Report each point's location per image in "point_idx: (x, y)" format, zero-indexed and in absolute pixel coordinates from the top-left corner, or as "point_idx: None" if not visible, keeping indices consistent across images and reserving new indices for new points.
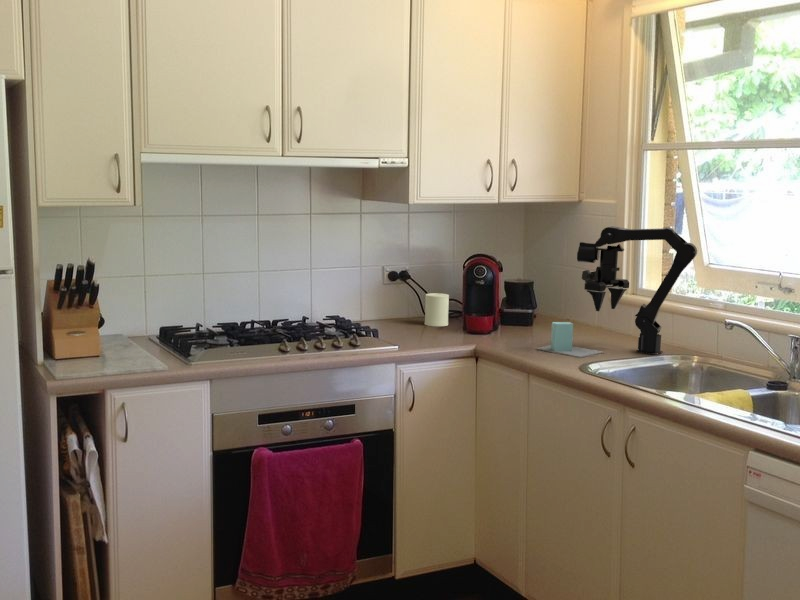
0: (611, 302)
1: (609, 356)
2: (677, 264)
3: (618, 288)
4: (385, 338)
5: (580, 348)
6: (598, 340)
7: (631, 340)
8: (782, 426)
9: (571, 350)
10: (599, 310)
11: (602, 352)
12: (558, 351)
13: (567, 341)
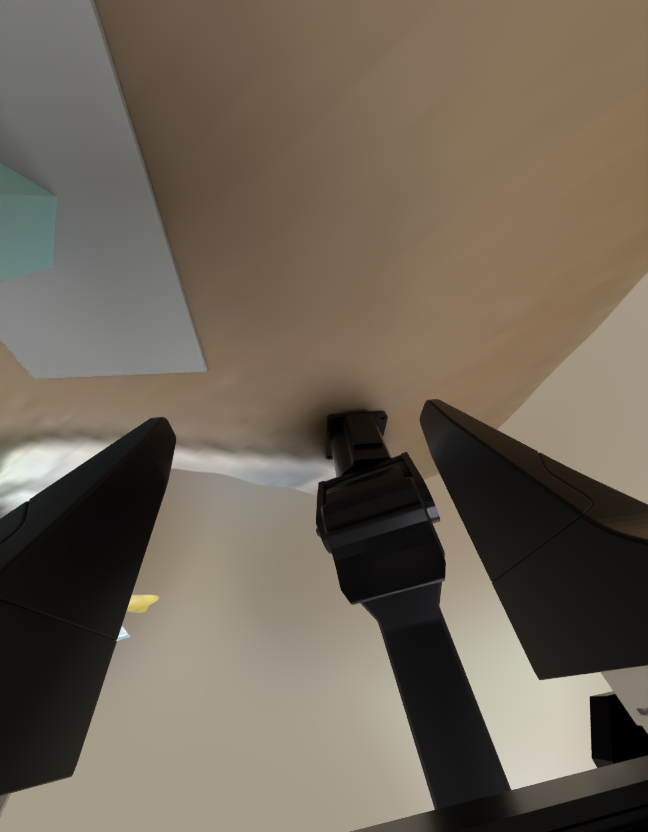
0: (463, 436)
1: (186, 411)
2: None
3: (623, 681)
4: None
5: (148, 255)
6: (487, 124)
7: (561, 272)
8: (121, 636)
9: (47, 265)
10: (170, 447)
11: (199, 371)
12: None
13: None
